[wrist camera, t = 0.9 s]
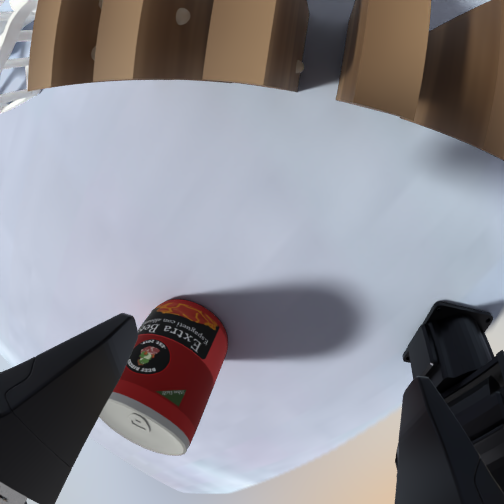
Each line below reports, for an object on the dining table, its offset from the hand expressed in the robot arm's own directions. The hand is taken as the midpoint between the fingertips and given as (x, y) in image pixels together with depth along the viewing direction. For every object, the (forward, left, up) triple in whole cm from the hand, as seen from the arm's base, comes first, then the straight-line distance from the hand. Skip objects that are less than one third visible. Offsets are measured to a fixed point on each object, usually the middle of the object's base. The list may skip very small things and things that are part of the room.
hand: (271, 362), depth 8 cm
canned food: (+7, +13, -12) cm, 19 cm away
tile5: (+10, -10, -12) cm, 18 cm away
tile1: (-5, -10, -12) cm, 16 cm away
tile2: (-1, -10, -12) cm, 15 cm away
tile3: (+3, -10, -12) cm, 15 cm away
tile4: (+6, -10, -12) cm, 16 cm away
